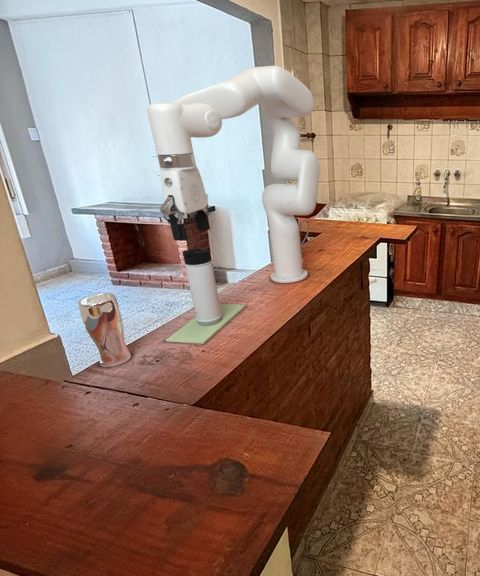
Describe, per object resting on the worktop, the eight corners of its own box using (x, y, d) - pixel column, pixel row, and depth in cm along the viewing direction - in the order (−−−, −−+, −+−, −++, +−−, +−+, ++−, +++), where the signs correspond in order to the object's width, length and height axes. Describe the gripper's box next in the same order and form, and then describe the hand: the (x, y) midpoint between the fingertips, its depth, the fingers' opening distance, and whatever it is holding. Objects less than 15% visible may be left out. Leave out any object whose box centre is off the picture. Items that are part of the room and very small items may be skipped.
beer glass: (89, 365, 87) (68, 303, 82) (118, 349, 94) (101, 290, 88) (112, 370, 85) (92, 307, 80) (140, 354, 91) (123, 294, 86)
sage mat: (213, 304, 117) (213, 303, 117) (245, 306, 116) (245, 304, 116) (165, 341, 97) (165, 339, 97) (203, 343, 96) (203, 342, 95)
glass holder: (276, 256, 160) (272, 220, 155) (304, 248, 170) (301, 214, 165) (289, 260, 155) (285, 223, 150) (317, 252, 165) (314, 216, 160)
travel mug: (191, 325, 103) (175, 252, 96) (206, 314, 109) (192, 244, 102) (212, 327, 102) (198, 253, 95) (227, 316, 108) (214, 245, 101)
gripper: (168, 166, 83) (186, 245, 89) (212, 158, 98) (224, 226, 105) (136, 166, 84) (155, 244, 90) (184, 159, 99) (198, 226, 106)
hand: (192, 234), depth 98 cm, fingers open, 9 cm apart
